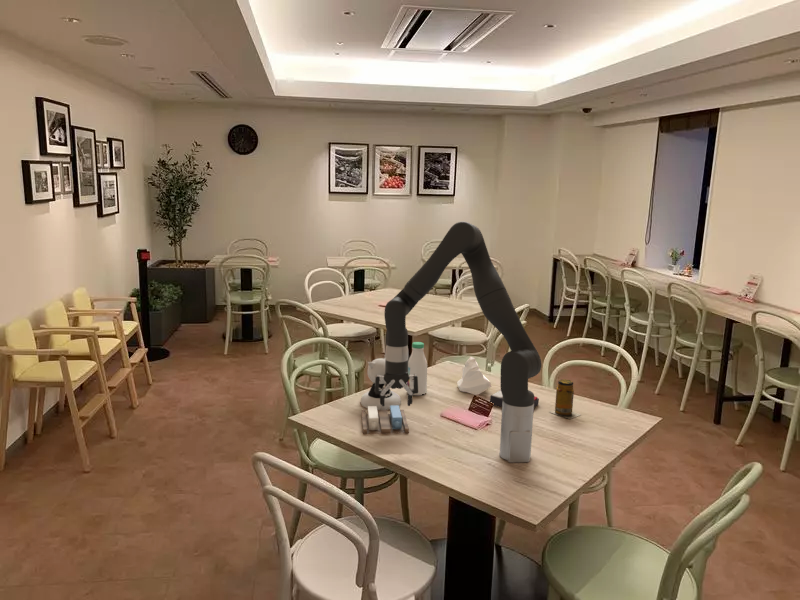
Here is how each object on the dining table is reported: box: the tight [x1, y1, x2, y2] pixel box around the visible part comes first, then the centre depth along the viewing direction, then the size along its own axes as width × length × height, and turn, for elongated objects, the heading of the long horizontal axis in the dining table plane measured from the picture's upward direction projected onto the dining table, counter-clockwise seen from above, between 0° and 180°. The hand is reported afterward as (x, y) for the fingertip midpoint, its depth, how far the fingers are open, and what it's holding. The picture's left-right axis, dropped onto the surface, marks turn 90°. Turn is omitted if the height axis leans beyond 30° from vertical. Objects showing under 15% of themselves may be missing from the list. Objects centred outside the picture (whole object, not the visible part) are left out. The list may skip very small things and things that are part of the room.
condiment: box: [550, 379, 581, 419], centre depth 222 cm, size 7×8×12 cm
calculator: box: [489, 389, 540, 409], centre depth 231 cm, size 11×4×15 cm
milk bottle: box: [407, 341, 428, 396], centre depth 239 cm, size 8×8×20 cm
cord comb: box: [361, 409, 410, 435], centre depth 206 cm, size 17×15×3 cm
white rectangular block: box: [367, 406, 379, 430], centre depth 205 cm, size 15×3×4 cm, turn 5°
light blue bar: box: [389, 405, 402, 429], centre depth 206 cm, size 15×3×4 cm, turn 5°
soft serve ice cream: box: [456, 356, 492, 396], centre depth 246 cm, size 12×15×14 cm
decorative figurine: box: [360, 357, 402, 411], centre depth 223 cm, size 15×15×20 cm
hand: (396, 405), depth 205 cm, fingers open, 8 cm apart
